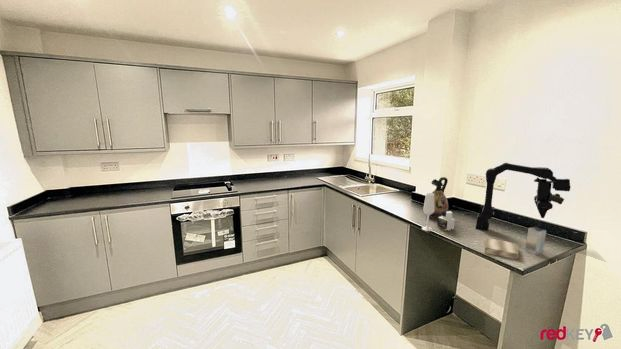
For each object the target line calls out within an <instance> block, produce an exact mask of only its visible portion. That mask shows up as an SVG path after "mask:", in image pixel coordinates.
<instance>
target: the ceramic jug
mask: <svg viewBox="0 0 621 349" xmlns="http://www.w3.org/2000/svg"><path fill="white" fill-rule="evenodd" d="M430 183H431V185H432V186H435V187H436V188H435V189H434V190H433V191H432V192H431V193H433V194H434V213H433V214H431V215H429V217H430V216H432V217H431V218H433V217H436V218H435V219H438V217H442V211H443V210H449V201H448V198H447V196H446V195H445V189H446V187H447V184H448V178H447V177H440V178H439V179H438V180H437V179H433V180H432V181H431V182H430Z"/></svg>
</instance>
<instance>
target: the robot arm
mask: <svg viewBox="0 0 621 349" xmlns="http://www.w3.org/2000/svg"><path fill="white" fill-rule="evenodd" d="M505 171H511V172H516V173H523V174H530V175H532V176H535V177H536V178H535V179H534V180H533V182H534V183H537V190H536V195H535V196H534V198H533V201H534V204H535V207H536V208H537V211H538V213H539V216H540V218H541V219H545V216H546V214H547V213H548V211H549V210H552V209H553V206H554V204H553V203H557V205H562V203H564V201H565V198H563V197H562V196H561V194H559V193H555V194H553V193H552V192H551V191H552V189H553V190H554V191H557V192H558V191H560V192H562V191H563V192H570V191H571V179H570V178H557V177H555V176H554V172H553V170H552V169H550V168H548V167H537V166H535V167H532V166H526V165H520V164H513V163H509V162H504V163H502V164H500V165H497V166H496V167H494V168H493V167H492V168H487V170H486V172H485V179H486V180H485V181H486V187H485V188H486V189H485V199H484V204H483V208H482V209H481V210H482V211H481V212H479V213H477V216H476V224H475V230H480V231H481V230H482V231H488V230H489V228H490V221H489V220H490V219H492V217H493V216H494V215H495V206H493V205H492V203H493V193H494V185H495V182H496V178H497V176H498V175H500V174H501V173H503V172H505ZM552 202H553V203H552Z"/></svg>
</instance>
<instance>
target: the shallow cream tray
mask: <svg viewBox="0 0 621 349" xmlns="http://www.w3.org/2000/svg"><path fill="white" fill-rule="evenodd" d="M483 244H484V245H483V247H484V249H483V250H484V253H486V254H491V255H495V256H500V257H505V258H509V259H512V260H519V251H518V247H517V245H516V243H515V242H510V241H505V240H499V239H494V238H489V237H484V239H483Z"/></svg>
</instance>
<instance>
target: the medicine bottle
mask: <svg viewBox="0 0 621 349" xmlns="http://www.w3.org/2000/svg"><path fill="white" fill-rule="evenodd" d="M455 222H456V219H455V218H453V212H452V211H451V210H449V209H448V210H443V211H442V217H438V218H437V225H436V226H437V228H438V227H439V229H441V230H443V229H444V231H446V230H448V231H451V229H452V230H454V229H455Z"/></svg>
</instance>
